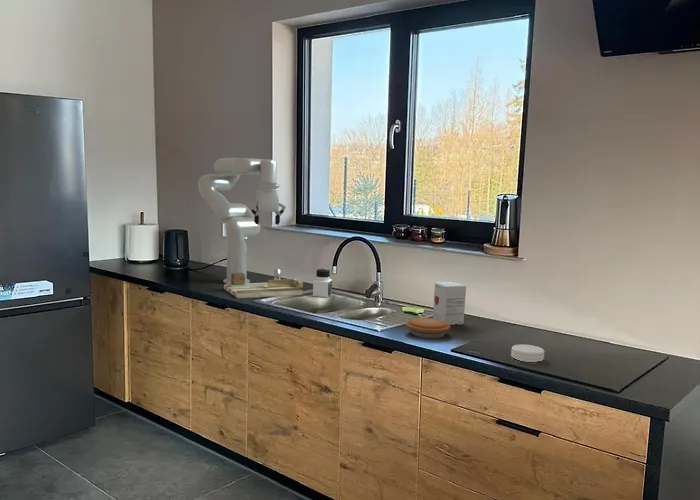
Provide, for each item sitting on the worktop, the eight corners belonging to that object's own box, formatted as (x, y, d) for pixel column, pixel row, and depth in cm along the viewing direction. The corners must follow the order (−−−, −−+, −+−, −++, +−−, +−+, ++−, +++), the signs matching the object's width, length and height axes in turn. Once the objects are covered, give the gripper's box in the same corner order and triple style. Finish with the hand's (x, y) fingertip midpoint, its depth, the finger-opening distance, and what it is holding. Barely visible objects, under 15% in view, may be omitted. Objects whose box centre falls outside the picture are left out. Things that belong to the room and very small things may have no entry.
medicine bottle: (328, 297, 275) (329, 270, 274) (312, 296, 277) (313, 269, 275) (331, 294, 282) (332, 268, 281) (316, 293, 284) (317, 267, 282)
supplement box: (431, 320, 241) (434, 281, 239) (451, 318, 244) (454, 281, 242) (443, 325, 232) (446, 286, 230) (464, 324, 236) (466, 285, 234)
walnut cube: (231, 283, 284) (231, 272, 283) (241, 283, 286) (241, 272, 286) (234, 285, 279) (234, 274, 279) (244, 285, 282) (245, 274, 281)
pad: (228, 284, 285) (228, 283, 285) (242, 284, 288) (242, 282, 288) (232, 287, 279) (232, 285, 279) (247, 287, 282) (247, 285, 282)
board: (223, 288, 286) (224, 276, 285) (285, 285, 299) (285, 274, 298) (237, 298, 266) (237, 285, 266) (302, 294, 280) (302, 282, 279)
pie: (450, 331, 224) (451, 318, 224) (447, 342, 209) (448, 327, 209) (408, 327, 228) (409, 314, 227) (402, 337, 213) (403, 323, 212)
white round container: (506, 354, 198) (507, 343, 198) (536, 354, 199) (537, 344, 199) (517, 363, 188) (518, 352, 188) (549, 364, 189) (550, 353, 189)
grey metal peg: (273, 283, 292) (273, 269, 292) (279, 283, 294) (279, 268, 293) (275, 284, 290) (275, 270, 289) (281, 284, 291) (281, 269, 290)
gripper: (283, 187, 290) (282, 223, 292) (247, 186, 282) (246, 223, 284) (288, 187, 283) (287, 225, 285) (252, 186, 275) (251, 225, 278)
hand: (267, 224), depth 285 cm, fingers open, 9 cm apart
